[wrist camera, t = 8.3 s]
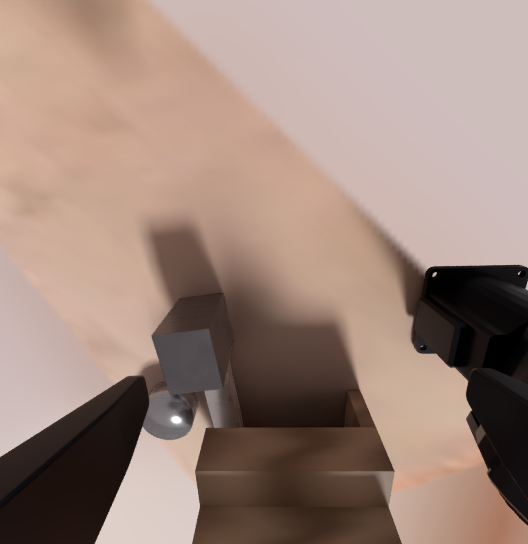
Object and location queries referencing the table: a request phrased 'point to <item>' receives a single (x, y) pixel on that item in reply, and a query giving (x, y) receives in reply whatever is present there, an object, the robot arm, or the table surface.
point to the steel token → (170, 413)
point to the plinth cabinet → (296, 484)
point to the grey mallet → (200, 355)
